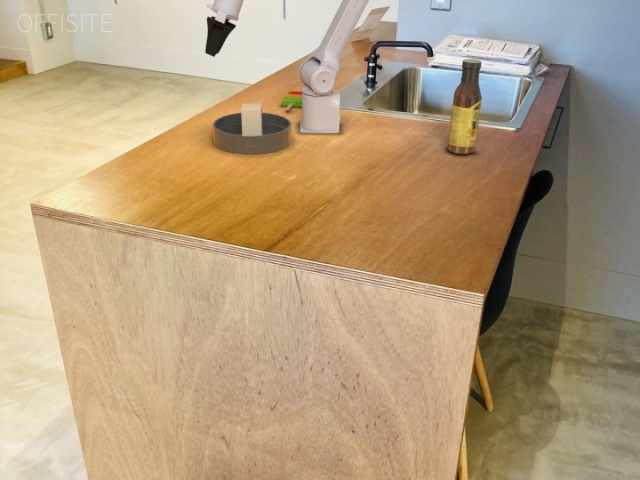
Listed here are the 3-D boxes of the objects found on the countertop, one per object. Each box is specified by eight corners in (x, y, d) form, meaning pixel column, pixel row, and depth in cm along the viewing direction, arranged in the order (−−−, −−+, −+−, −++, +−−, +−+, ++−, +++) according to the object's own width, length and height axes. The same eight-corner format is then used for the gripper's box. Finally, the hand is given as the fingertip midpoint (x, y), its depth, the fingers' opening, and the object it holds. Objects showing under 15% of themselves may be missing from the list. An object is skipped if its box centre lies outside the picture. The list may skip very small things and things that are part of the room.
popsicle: (308, 98, 192) (308, 91, 191) (297, 113, 179) (297, 106, 178) (289, 97, 192) (289, 90, 191) (276, 112, 180) (276, 105, 179)
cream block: (262, 138, 161) (261, 103, 157) (261, 144, 158) (260, 109, 153) (244, 137, 161) (242, 103, 157) (242, 144, 158) (241, 109, 153)
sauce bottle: (474, 156, 154) (487, 65, 143) (446, 154, 155) (457, 63, 144) (474, 147, 160) (487, 58, 149) (447, 145, 161) (458, 56, 150)
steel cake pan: (292, 130, 167) (292, 112, 165) (290, 156, 152) (290, 136, 150) (218, 130, 167) (217, 111, 164) (209, 155, 152) (208, 135, 149)
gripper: (217, -18, 152) (198, 43, 157) (210, -18, 139) (190, 48, 144) (247, -4, 153) (227, 56, 158) (243, -3, 140) (221, 62, 145)
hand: (211, 53), depth 151 cm, fingers open, 7 cm apart
